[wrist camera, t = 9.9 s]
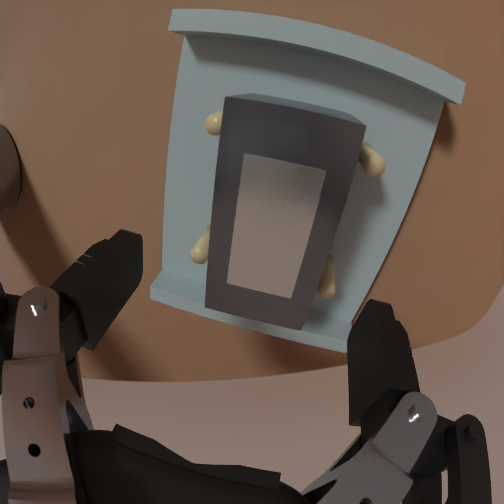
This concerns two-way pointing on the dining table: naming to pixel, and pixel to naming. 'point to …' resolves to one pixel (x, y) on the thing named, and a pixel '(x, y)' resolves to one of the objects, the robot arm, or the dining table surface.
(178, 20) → the tray
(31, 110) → the dining table surface
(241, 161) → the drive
